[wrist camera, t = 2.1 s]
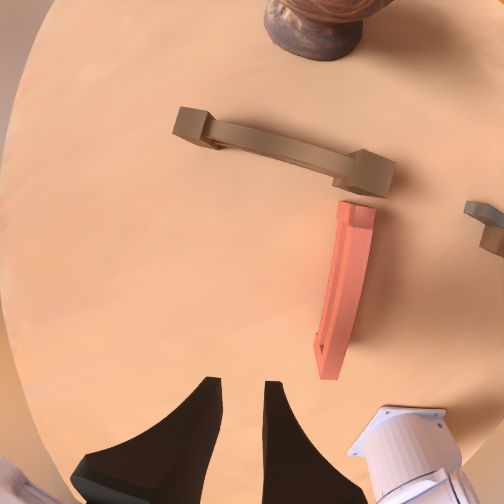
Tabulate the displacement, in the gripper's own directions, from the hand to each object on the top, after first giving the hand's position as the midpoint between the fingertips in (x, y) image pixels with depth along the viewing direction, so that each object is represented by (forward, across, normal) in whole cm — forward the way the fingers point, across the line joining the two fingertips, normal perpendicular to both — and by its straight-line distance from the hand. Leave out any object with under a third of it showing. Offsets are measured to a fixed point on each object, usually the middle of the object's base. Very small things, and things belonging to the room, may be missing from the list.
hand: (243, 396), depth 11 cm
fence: (+10, -12, -8) cm, 18 cm away
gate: (+10, -5, -2) cm, 12 cm away
